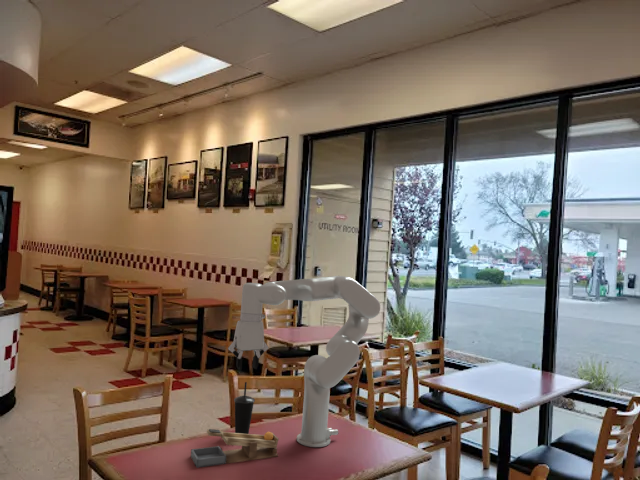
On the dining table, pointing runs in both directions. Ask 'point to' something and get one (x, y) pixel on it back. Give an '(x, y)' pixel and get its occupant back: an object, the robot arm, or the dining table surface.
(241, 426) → the drinking cup
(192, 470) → the dining table surface
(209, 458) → the tray
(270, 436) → the ball
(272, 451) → the catapult base
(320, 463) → the dining table surface
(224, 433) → the lever
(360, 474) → the dining table surface
